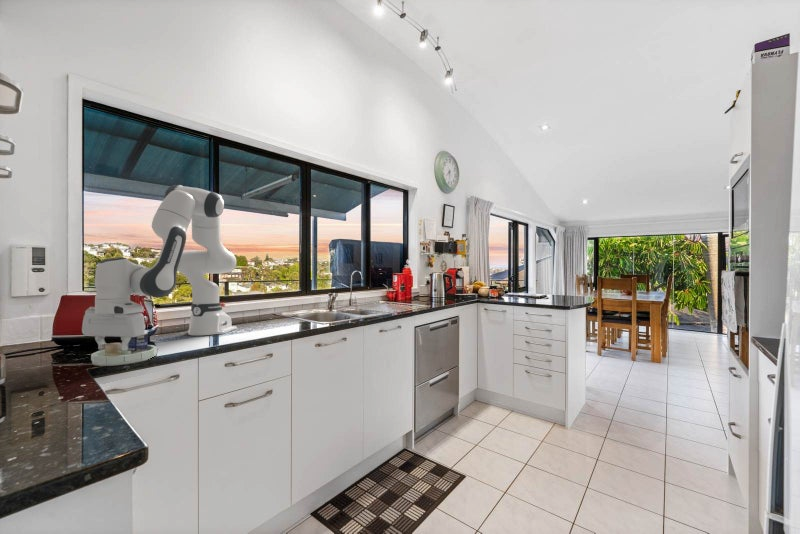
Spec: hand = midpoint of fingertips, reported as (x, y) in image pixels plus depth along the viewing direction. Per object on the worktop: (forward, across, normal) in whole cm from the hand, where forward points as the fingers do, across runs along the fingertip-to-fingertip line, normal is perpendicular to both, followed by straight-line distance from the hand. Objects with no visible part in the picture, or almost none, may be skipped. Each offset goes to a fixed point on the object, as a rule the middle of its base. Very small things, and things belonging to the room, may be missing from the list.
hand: (112, 349), depth 112 cm
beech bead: (+3, 0, 0) cm, 3 cm away
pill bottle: (+3, 0, +9) cm, 10 cm away
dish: (+4, 0, +4) cm, 6 cm away
